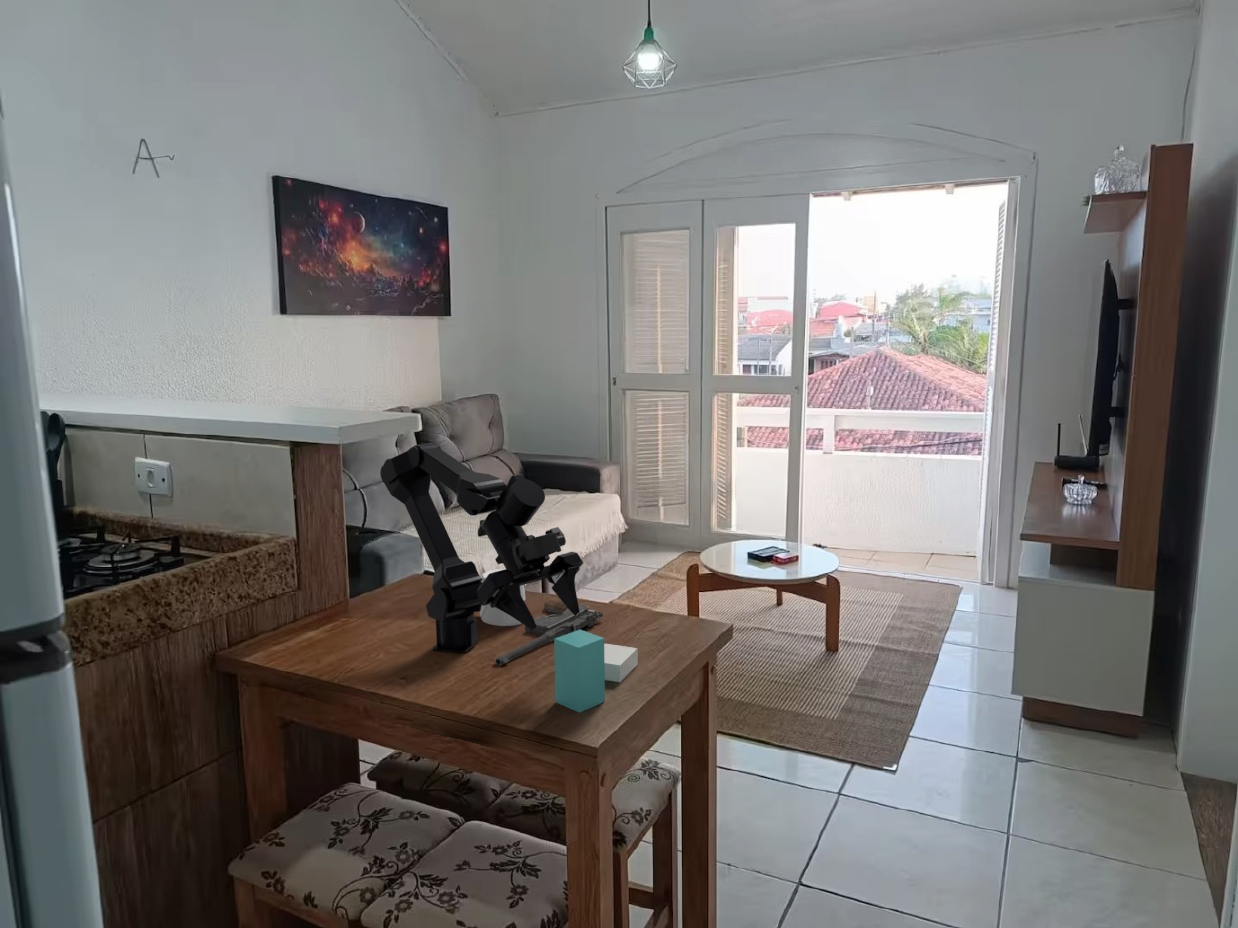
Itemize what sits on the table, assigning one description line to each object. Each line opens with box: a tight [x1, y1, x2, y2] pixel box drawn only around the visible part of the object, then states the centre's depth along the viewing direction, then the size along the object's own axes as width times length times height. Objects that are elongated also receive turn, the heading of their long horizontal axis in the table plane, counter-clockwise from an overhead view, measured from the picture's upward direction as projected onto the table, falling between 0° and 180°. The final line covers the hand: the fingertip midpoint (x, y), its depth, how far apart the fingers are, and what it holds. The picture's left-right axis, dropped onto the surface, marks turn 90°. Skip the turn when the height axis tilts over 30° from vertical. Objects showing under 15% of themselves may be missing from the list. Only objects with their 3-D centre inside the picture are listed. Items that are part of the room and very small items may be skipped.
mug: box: [479, 568, 526, 627], centre depth 175 cm, size 12×9×8 cm
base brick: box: [604, 642, 639, 683], centre depth 150 cm, size 8×8×3 cm
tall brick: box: [553, 629, 606, 713], centre depth 137 cm, size 6×6×10 cm
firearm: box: [494, 597, 604, 666], centre depth 168 cm, size 3×30×15 cm
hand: (556, 621), depth 140 cm, fingers open, 9 cm apart
